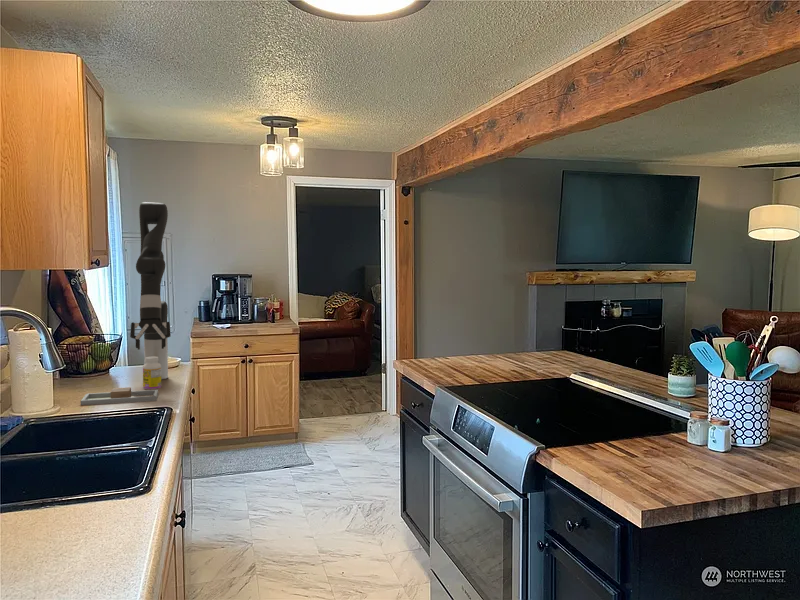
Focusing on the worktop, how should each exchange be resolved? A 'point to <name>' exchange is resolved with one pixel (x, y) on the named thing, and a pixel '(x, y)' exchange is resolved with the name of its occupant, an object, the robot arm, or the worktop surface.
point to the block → (121, 392)
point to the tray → (106, 398)
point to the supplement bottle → (151, 373)
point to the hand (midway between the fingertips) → (150, 349)
